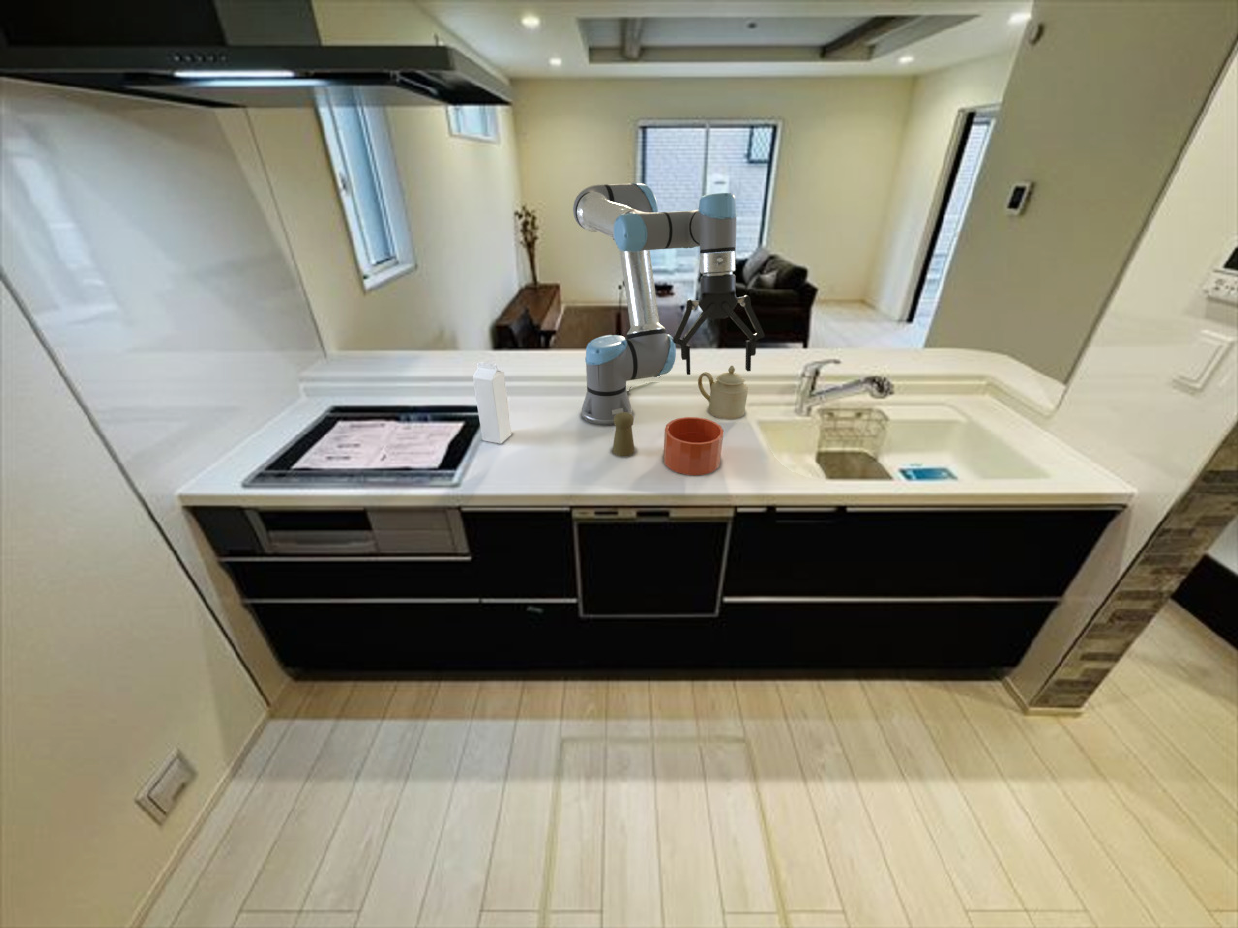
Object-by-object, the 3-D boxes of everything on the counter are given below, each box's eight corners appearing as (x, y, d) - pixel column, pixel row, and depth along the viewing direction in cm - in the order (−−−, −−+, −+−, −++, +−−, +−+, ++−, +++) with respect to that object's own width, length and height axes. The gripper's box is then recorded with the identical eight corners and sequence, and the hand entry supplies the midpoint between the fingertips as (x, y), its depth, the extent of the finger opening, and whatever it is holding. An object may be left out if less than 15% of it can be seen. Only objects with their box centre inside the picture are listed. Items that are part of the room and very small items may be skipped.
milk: (493, 431, 149) (483, 357, 138) (512, 434, 148) (502, 360, 136) (482, 440, 144) (470, 365, 133) (501, 444, 143) (490, 368, 131)
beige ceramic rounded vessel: (695, 417, 157) (699, 370, 149) (696, 402, 166) (699, 357, 158) (745, 420, 155) (752, 373, 147) (743, 405, 164) (749, 359, 156)
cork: (632, 457, 136) (633, 420, 131) (610, 455, 137) (609, 418, 132) (636, 446, 141) (637, 410, 136) (614, 444, 142) (614, 408, 137)
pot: (662, 445, 142) (664, 416, 137) (716, 447, 141) (720, 417, 136) (664, 474, 129) (665, 443, 125) (723, 476, 129) (727, 444, 124)
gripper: (660, 279, 109) (664, 378, 117) (780, 270, 107) (776, 372, 115) (659, 278, 116) (663, 371, 124) (773, 269, 114) (769, 365, 122)
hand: (718, 372), depth 119 cm, fingers open, 13 cm apart
